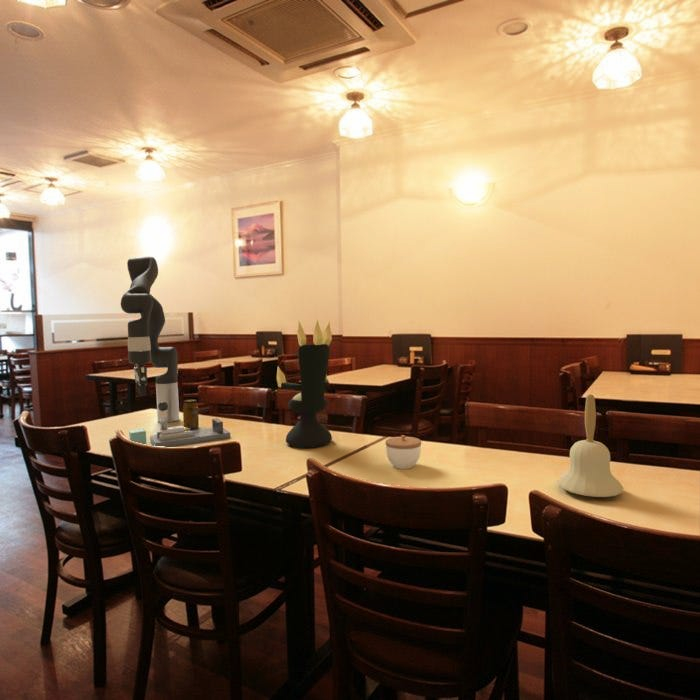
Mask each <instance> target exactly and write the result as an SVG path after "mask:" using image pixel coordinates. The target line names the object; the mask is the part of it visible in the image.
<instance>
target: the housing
mask: <svg viewBox="0 0 700 700" xmlns="http://www.w3.org/2000/svg"><path fill="white" fill-rule="evenodd" d="M128 432H129V436H128V437H129V441H130V440H131V441H134V442H138V443H142V444H147V431H146V430H145V428H139V429H138V428H137V429H131V430H128Z"/></svg>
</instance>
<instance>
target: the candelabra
mask: <svg viewBox="0 0 700 700" xmlns="http://www.w3.org/2000/svg"><path fill="white" fill-rule="evenodd" d="M296 330H297V331H296V334H297V340H298V345H299V346H298V348H297V358H298V359H297V360H298V369H299V376H300V377H299V378H300V384H299V383H293V382H287V379H286V376H285V374H284V372H283V371H282V370H281V368H280V367H279V366H277V371H276V383H277V387H278V388H283V389H286V390H293V391H300V392H299V393H297V394H295V395H294V396H293V397H292V398H291V399H290V400H289V402H288V405H287V406H288V408H289V410H290V411H291V412H293V413H296V414H297V413H298V414H299V415H300V416H299V421H298V422H297V423H296V424H295V425H294V426H293V427H292V428H291V429H289V431H288V432H287V434H286V437H285V442H286V444H287V445H289V446H290V447H293V448H298V449H299V448H303V449H304V448H305V449H308V448H319V447H323V446H326V445H328V444H330V442H331V441H332V440H333V436H332V433H331V431H329V429H328V428H327V427H326V426H325V425H323V424H322V423H321V422H320V421H319V420H318V418H317V413H320V412H322V411H324V410H326V409H327V406H328V401H327V399H326V398H325V391H326V389H325V388H329V387H330V382H329V380H328V375H327V373H328V367H329V359H330V344H331V342H332V341H333V335H332V330H331V323H330V321H328V322H327V323H326V325H325V326H324V329H323V330H321V328H320V325H319V321H318V319H316V320H315V324H314V327H313V329H312V331H313V333H312V334H313V335H312V338H313V340H312V341H313V343H312V344H307V337H306V336H307V335H306V333H305V331H304V329H303V327H302V324H301V322H300V321H298V322H297V329H296Z"/></svg>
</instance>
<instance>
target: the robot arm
mask: <svg viewBox="0 0 700 700" xmlns="http://www.w3.org/2000/svg"><path fill="white" fill-rule="evenodd" d="M126 264H127V271H128V275H129V277H130V280H131V283H130V287H129V289H128V290H126V292H124V294H123V295H122V297H121V299H120V308H121V310H122V311H123V312H124V313H126V314H130V315H132V314H140V318H137V319H134V320H130V321H128V323H127V336H128V338H127V352H128V353H127V355H128V356H127V357H128V363H129V364H134V368H133V373H134V380H135V383H136V393H137V394H139V396H140V397H146V396H147V395H148V394H147V384H148V368H147V366H146V365H145V364H148V363H151V365H152V367H154V368H155V369H156V368H157V369H158V368H163V369H165V368H167V369H166V372H165V373H163V374H161V375H158V376H156V377H155V390H156V393H155V394H156V414H157V422H158V423H160V410H159V409H158V404H159V403H160V402H163V401H164V402H166V403H167V404H168V409H167V423H171V422H173V423H174V422H176V421H180V408H179V407H180V406H179V405H180V404H179V403H180V402H179V388H178V385H179V384H178V374H179V373H178V371H179V370H178V359H179V358H178V351H177V349H176V348H175V347H173V346H166V347H165V346H162V347H161V346H160V345H159V336H160V335H161V333H162V330H163V328H164V326H165V324H166V317H165V314H164V312H165V311H164V308H163V306H162V304H161V303H160V302H159V300H158V299H156V297H154V296H153V295H152V294H151V288H152V286H153V284H154V283H155V281H156V279H157V278H158V275H159V267H158V262H157V260H156V259H155V257H153V256H151V255H149V256H139V257H131V258H129V259H128V260H127V263H126Z"/></svg>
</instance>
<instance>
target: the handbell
mask: <svg viewBox="0 0 700 700" xmlns="http://www.w3.org/2000/svg"><path fill="white" fill-rule="evenodd" d="M596 412H597V410H596V398H595V396H594V395H593V394H592V393H590V394H587V395H586V398H585V406H584V428H585V434H586V439H583V440H582V439H581V440H578V441H576V442H574V444H573V445H572V446H571V447H570V450H569V466H568V469H567V470H566V471H565V472H563V473H562V474H561V475H560V476H558V478H557V479H556V483H557V485H558V486H559V488H561V489H562V490H564V491H567V492H570V493H573V494H577V495H580V496H585V497H586V496H587V497H594V498H609V497H616V496H619V495H620V494H622V493H623V491H624V489H625V487H624V486H623V485H622V484H621V482H620V481H619V480H618V479H617V478H616V477H615V476H614V475H613V473H612V472H611V452H610V451H609V448H608V447H607V446H606V445H605V444H603V442H600V441H596V440H595V439H594V437H595V436H594V435H595V431H596V420H597V417H596V416H597V415H596Z"/></svg>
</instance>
